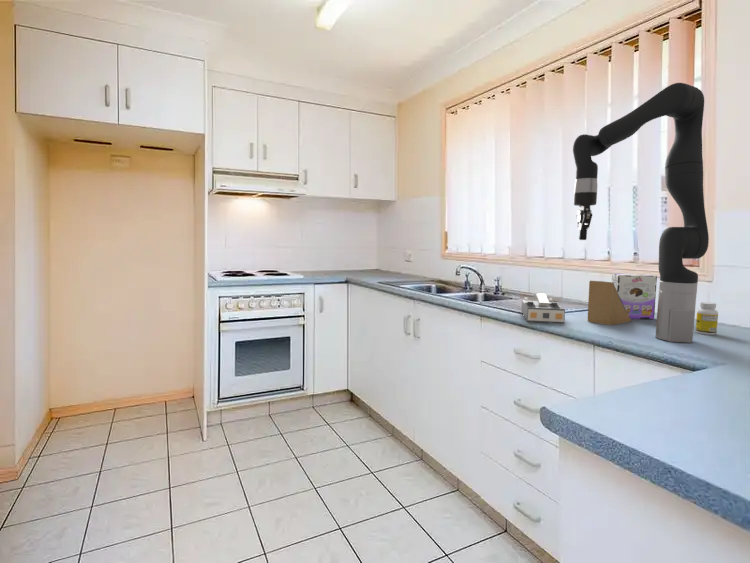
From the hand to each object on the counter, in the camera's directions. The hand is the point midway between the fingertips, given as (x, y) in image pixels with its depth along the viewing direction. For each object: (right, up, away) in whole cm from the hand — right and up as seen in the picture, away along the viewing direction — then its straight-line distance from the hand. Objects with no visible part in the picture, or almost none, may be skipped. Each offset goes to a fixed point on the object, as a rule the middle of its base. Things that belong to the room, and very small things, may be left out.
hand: (582, 239), depth 163 cm
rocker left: (-18, -22, +2) cm, 29 cm away
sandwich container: (+9, -30, -3) cm, 31 cm away
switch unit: (-14, -29, +2) cm, 32 cm away
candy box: (+21, -29, +5) cm, 36 cm away
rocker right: (-10, -23, 0) cm, 25 cm away
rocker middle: (-14, -23, +1) cm, 27 cm away
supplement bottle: (+29, -32, -21) cm, 48 cm away
